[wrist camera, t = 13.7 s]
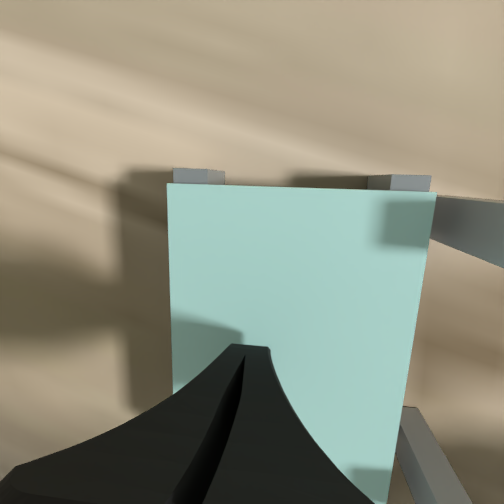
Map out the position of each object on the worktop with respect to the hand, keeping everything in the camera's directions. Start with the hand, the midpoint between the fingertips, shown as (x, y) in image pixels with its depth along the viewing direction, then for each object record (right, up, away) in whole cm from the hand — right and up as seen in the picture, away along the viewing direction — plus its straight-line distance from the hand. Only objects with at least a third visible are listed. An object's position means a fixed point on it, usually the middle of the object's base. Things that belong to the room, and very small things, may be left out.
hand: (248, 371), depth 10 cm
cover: (+1, 0, +1) cm, 2 cm away
